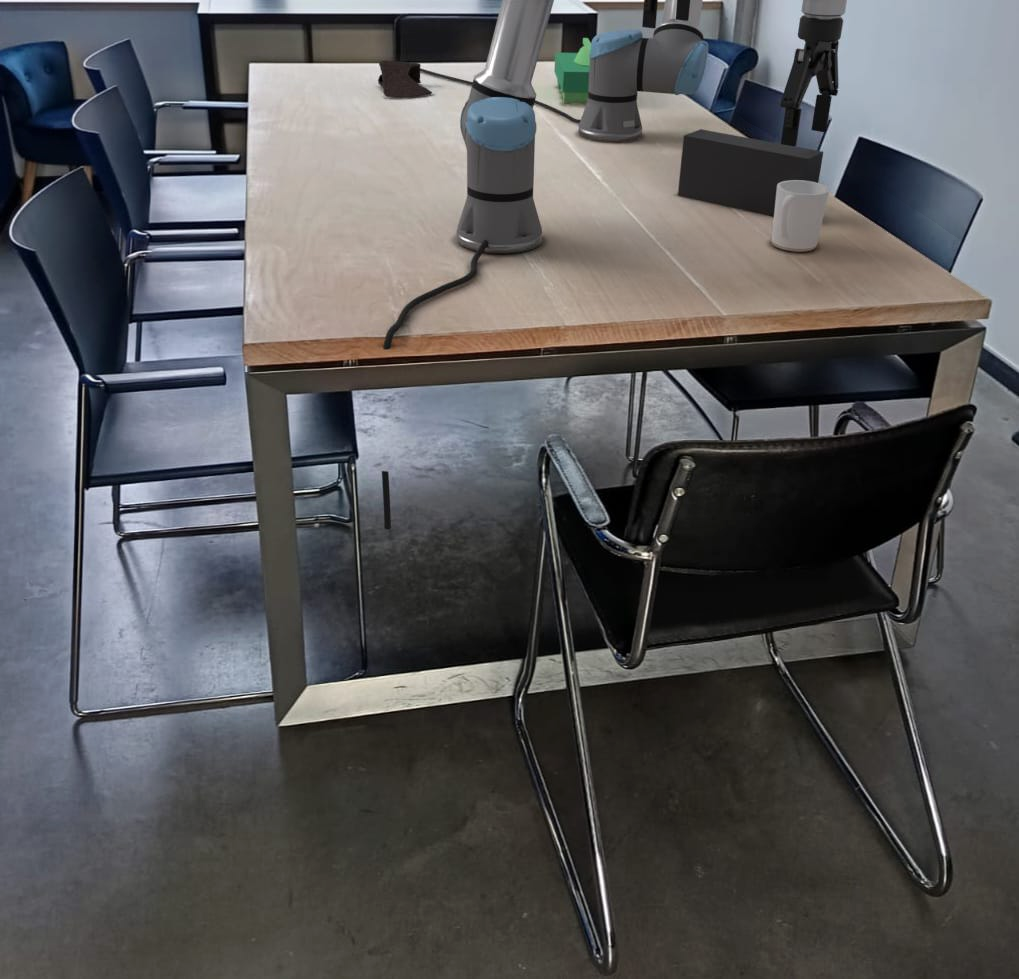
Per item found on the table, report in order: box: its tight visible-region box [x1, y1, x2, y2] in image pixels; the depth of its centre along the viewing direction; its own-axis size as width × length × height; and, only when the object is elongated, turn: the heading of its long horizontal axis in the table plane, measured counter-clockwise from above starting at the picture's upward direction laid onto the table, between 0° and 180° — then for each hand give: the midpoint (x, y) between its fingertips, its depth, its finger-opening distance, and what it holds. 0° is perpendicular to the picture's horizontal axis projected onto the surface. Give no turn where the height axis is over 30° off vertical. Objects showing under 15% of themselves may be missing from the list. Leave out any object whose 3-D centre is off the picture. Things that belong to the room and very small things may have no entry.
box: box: [677, 128, 824, 217], centre depth 214 cm, size 26×7×12 cm, turn 53°
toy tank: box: [554, 37, 592, 104], centre depth 300 cm, size 18×12×35 cm
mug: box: [770, 180, 830, 253], centre depth 193 cm, size 11×9×10 cm
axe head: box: [377, 59, 433, 99], centre depth 299 cm, size 18×8×15 cm
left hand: (803, 138), depth 205 cm, fingers open, 13 cm apart
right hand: (665, 23), depth 227 cm, fingers open, 13 cm apart
